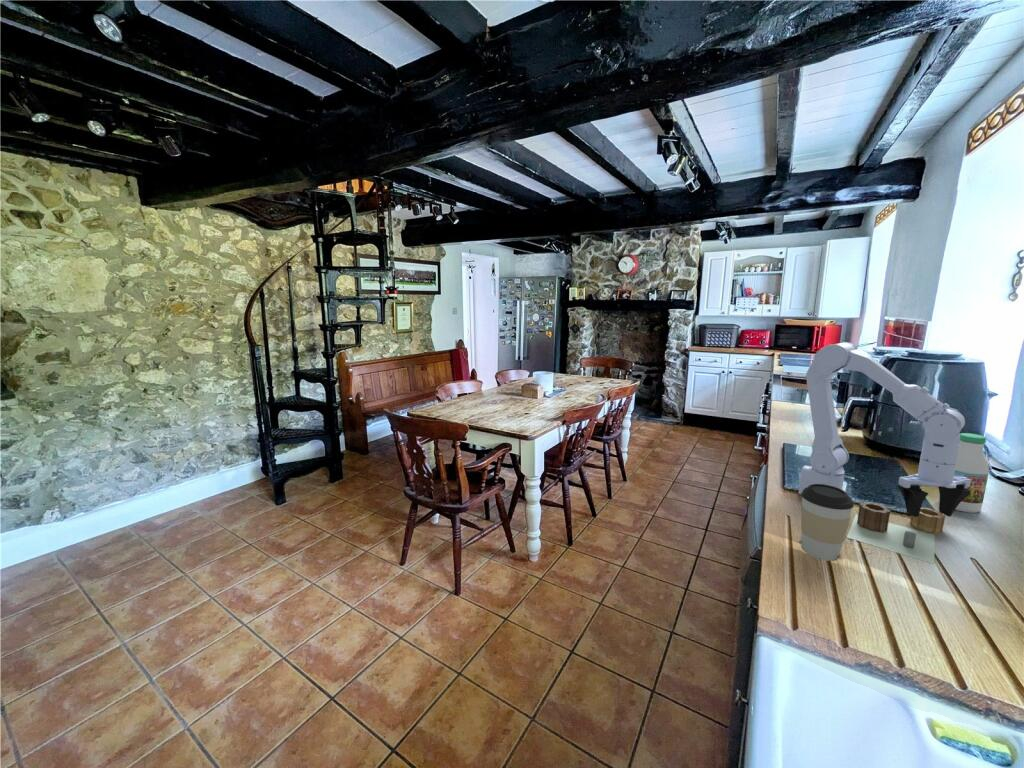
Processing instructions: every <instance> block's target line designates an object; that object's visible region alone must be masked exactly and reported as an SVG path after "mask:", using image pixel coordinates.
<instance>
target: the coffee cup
mask: <svg viewBox="0 0 1024 768" xmlns="http://www.w3.org/2000/svg"><path fill="white" fill-rule="evenodd" d="M800 495H801V497H802V498H801V499H802V500H801V503H800V504H801V505H800V506H801V507H800V515H801V517H800V522H801V523H800V528H801V529H800V530H801V549H802V550H803V552H804V553H806V554H808V555H809V556H811V557H813V558H815V559H817V560H823V561H831V562H833V561H838V560H839V559H840V554H841V552H842V547H843V544H844V542H845V540H846V539H845V538H846V537H847V533H848V528H849V525H850V522H851V514H852V513H851V512H852V509H853V508H854V506H855V505H854V503H853V499H852V498H851V497H850V496H849V495H848V493H847V491H845V490H843V488H842V489H839V488H837V487H834V486H830V485H825V484H812V485H809V486H808V487H806V488H804V489H803V492H802V493H801V494H800Z"/></svg>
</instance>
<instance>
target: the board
mask: <svg viewBox="0 0 1024 768" xmlns="http://www.w3.org/2000/svg"><path fill="white" fill-rule="evenodd" d="M857 520H858V514H857V513H856V514H855V515H854V518H853V520H852V523H851V525H850V528H849V530H848V532H847V534H846V539H847V538H848V539H850V540H853V541H857V542H860V543H863V544H867V545H870V546H874V547H876V548H877V547H878V548H881V549H884V550H887V551H890V552H893V553H897V554H900V555H904V556H907V557H911V558H913V559H917V560H920V561H922V562H925V563H929V564H933V565H934V564H935V549H936V548H935V546H936V545H935V541H936V539H935V537H936V536H935V534H934V533H933V534H932V533H929V532H926V531H923V530H919V529H914V528H910V527H908V526H907V527H906V526H904V525H903V526H902V525H899V524H896V523H891V522H888V528H887V531H884V532H883V533H880V532H876V531H870V530H868V529H865V528H862V527H860V526H859V524H858V523H857Z"/></svg>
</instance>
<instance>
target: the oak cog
mask: <svg viewBox="0 0 1024 768" xmlns="http://www.w3.org/2000/svg"><path fill="white" fill-rule="evenodd" d="M945 519H946V515H944V514H942V513H941V512H939V510H935V509H932V508H930V507H922V506H921V509H920V513H919V515H918V517H914V516H912V515H911V516H910V519H909V520H910V521H909V524H910V525H911V526H912V527H914V528H915V529H918V530H920V531H922V532H925V533H929V532H930V533H933V534H940V533H943V529H944V524H945Z"/></svg>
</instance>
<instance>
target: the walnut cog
mask: <svg viewBox="0 0 1024 768" xmlns="http://www.w3.org/2000/svg"><path fill="white" fill-rule="evenodd" d="M890 515H891V510H890V509H889V507H887V506H885V505H881V504H879V503H875V502H868V501H863V502H860V503H859V507H858V520H857V523H858V524H859V526H860V527H862V528H865V529H868V530H870V531H876V532H880V533H883V532H884V531H887V528H888V523H890V522H889V521H890V517H891V516H890Z"/></svg>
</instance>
